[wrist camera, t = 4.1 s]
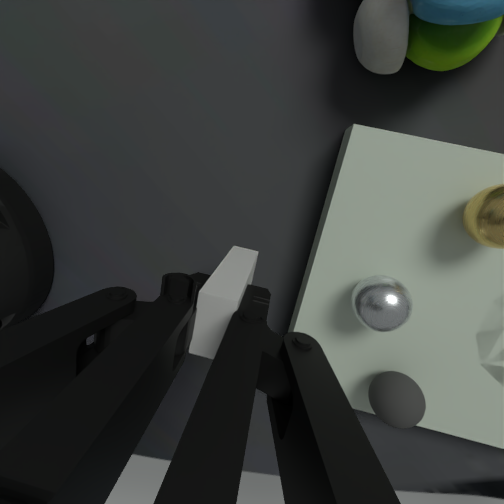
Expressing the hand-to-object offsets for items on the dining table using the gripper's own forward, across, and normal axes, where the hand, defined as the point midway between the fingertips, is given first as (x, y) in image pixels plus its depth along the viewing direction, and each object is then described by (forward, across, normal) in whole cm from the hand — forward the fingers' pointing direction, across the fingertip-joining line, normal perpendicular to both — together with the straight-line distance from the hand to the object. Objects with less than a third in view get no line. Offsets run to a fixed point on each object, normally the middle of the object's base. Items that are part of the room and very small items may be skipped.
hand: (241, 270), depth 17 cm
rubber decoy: (0, +11, -6) cm, 13 cm away
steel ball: (0, +8, 0) cm, 8 cm away
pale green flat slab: (+4, +14, 0) cm, 15 cm away
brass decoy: (0, +12, +6) cm, 14 cm away
